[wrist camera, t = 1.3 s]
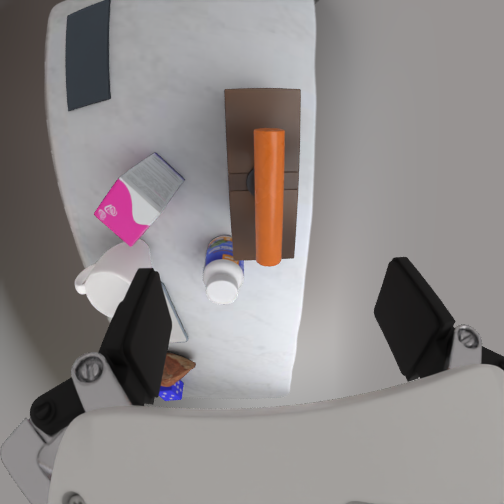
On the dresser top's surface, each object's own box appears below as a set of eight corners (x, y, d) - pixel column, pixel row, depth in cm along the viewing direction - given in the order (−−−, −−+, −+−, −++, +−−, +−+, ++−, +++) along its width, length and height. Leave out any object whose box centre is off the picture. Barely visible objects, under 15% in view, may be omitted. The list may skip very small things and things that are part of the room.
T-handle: (243, 116, 27) (246, 131, 15) (270, 116, 28) (295, 131, 15) (245, 198, 33) (250, 267, 21) (270, 197, 33) (289, 265, 21)
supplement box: (154, 150, 32) (120, 175, 22) (185, 179, 35) (164, 215, 25) (129, 180, 34) (91, 215, 24) (159, 207, 36) (132, 250, 27)
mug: (155, 223, 38) (130, 269, 28) (167, 269, 42) (150, 321, 33) (89, 230, 38) (55, 273, 28) (104, 272, 42) (79, 319, 32)
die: (173, 373, 59) (171, 390, 54) (183, 383, 61) (181, 399, 57) (157, 375, 59) (153, 391, 55) (167, 385, 62) (164, 400, 58)
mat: (69, 16, 19) (67, 15, 18) (110, -1, 19) (109, -2, 18) (70, 110, 27) (68, 111, 27) (110, 98, 27) (108, 98, 27)
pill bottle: (242, 233, 39) (243, 274, 31) (244, 264, 42) (245, 308, 34) (205, 235, 39) (196, 276, 31) (209, 265, 42) (203, 309, 34)
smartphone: (162, 283, 43) (189, 342, 50) (163, 279, 43) (189, 338, 51) (120, 288, 43) (151, 344, 51) (121, 285, 44) (152, 341, 52)
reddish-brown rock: (142, 379, 55) (145, 402, 45) (133, 348, 54) (133, 368, 45) (193, 369, 59) (203, 390, 50) (186, 338, 59) (195, 356, 49)
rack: (229, 93, 29) (224, 89, 18) (279, 92, 29) (300, 89, 18) (234, 209, 37) (233, 261, 27) (278, 208, 37) (293, 258, 27)
